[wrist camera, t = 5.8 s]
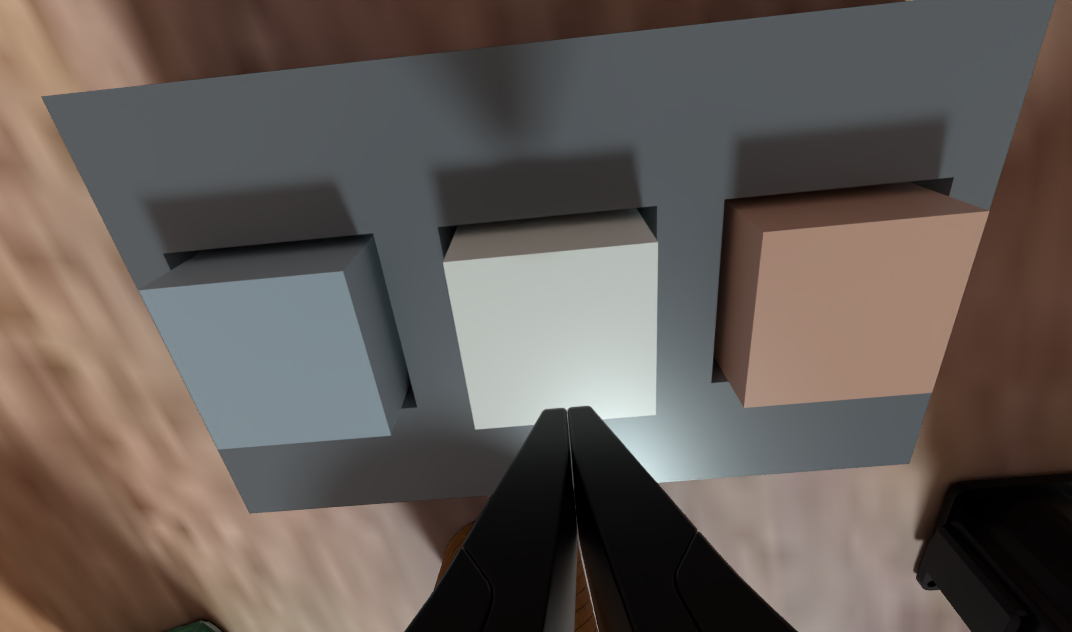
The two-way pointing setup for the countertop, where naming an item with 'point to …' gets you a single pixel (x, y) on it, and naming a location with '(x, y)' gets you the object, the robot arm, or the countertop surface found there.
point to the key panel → (563, 203)
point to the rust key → (841, 291)
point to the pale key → (556, 315)
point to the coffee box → (196, 627)
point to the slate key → (285, 340)
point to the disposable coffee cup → (583, 608)
